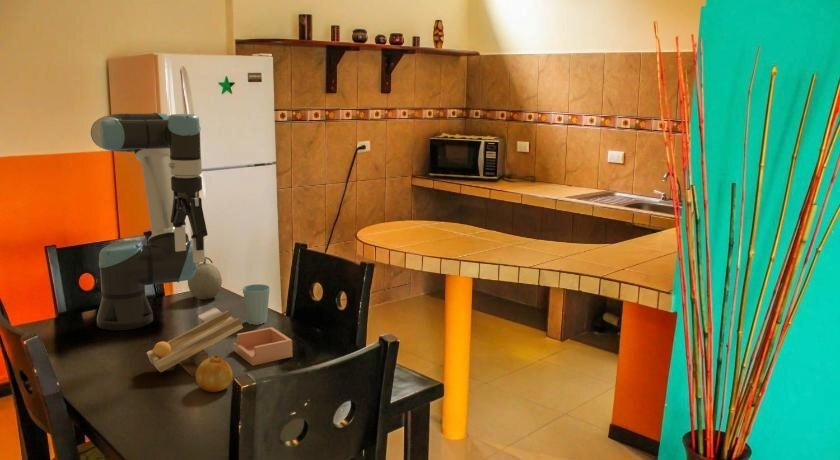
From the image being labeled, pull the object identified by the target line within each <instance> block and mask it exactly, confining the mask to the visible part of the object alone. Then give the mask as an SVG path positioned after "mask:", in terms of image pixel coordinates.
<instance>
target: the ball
mask: <svg viewBox="0 0 840 460" xmlns="http://www.w3.org/2000/svg"><path fill="white" fill-rule="evenodd" d="M167 342H168V341H159V342H157V343H156V344H155V345H154V347H153V352H154V354H155V355H156V356H157V357H158V358H163V357H165V356H167V355H169V354H170V352H171V347H170V345H169V344H168V343H167Z"/></svg>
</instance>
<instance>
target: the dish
mask: <svg viewBox="0 0 840 460" xmlns="http://www.w3.org/2000/svg"><path fill="white" fill-rule="evenodd" d="M233 351H234V352H235V353H236V354H237V355H238V356H240V357H241V358H242V359H243V360H245V361H246V362H248V364H250V365H251V366H253V367H254V366H256V365H257V366H258V365H262V364H266V363H271V362H275V361H278V360H279V361H280V360H283V359H288V358H293V340H292V339H291V338H290V337H288V336H286V335H285V334H284V333H282V332H280V331H279V330H278V329H276V328H274V327H273V326H271V327H265V328H260V329H254V330H250V331H244V332H240V333H236V342H233Z"/></svg>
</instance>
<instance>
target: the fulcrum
mask: <svg viewBox="0 0 840 460" xmlns="http://www.w3.org/2000/svg"><path fill="white" fill-rule="evenodd" d="M208 358H210V357H209V353H208V352H207V351H206V350H205V349H203V350H201V351H200V352H198V353H196V354H194V355H192V356H190V357H188V358H187V359H185V360H183V361H181V362H179V363H177V365H180V367H182V369H183V370H184V371H186V373H188V375H190V376H191V377H196V376H195V375H196V371H197V369H198V367H199V365H200V364H201V363H202V362H203V361H205V360H206V359H208Z"/></svg>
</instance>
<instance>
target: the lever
mask: <svg viewBox="0 0 840 460" xmlns="http://www.w3.org/2000/svg"><path fill="white" fill-rule="evenodd" d="M197 318H198V320H199V321H200V322H201V324H198V325H197V326H195V327H193V328H191V329H189V330H187V331H185V332H183V333H181V334H179V335H177V336H176V337H173V338H171V339H169V340H168V341H166V342H167V343H168V344H169V345H170V347H171V352H170V354H169V355H167V356H165V357H163V358H158V357H157V356H156V355H155V354H154V352H153V349H154V348H153V349H150V350H148V351H147V352H146V356H147V357H148V359H149V361H150V363H151V365H153V366H154V367H155V368H156V370H158V371H159V372H160V373H162V372H164V371H166V370H168V369H170V368H172V367H173V366H176V365H178V363H179V362H181V361H183V360H185V359H187V358H188V357H190V356H192V355H194V354H196V353H198V352H200V351H201V350H205V349H207V348H209V347H211V346H212V345H214V344H216V343H218V342H220V341H222V340H224V339H225V338H227V337H229V336H230V335H232V334H235V333H237V332H238V331H240V330H242V329H243V328H244V327H243V323H242V322H241V319H240V318H239V317H237V318H234V317H233V316H232V315H231V313H230V311H229V310H225V311H221V310H219V309H218V308H217V307H216V306H215V307H212V308H211V309H208V310H207V311H205V312H203V313H200V314H198V315H197Z"/></svg>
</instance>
